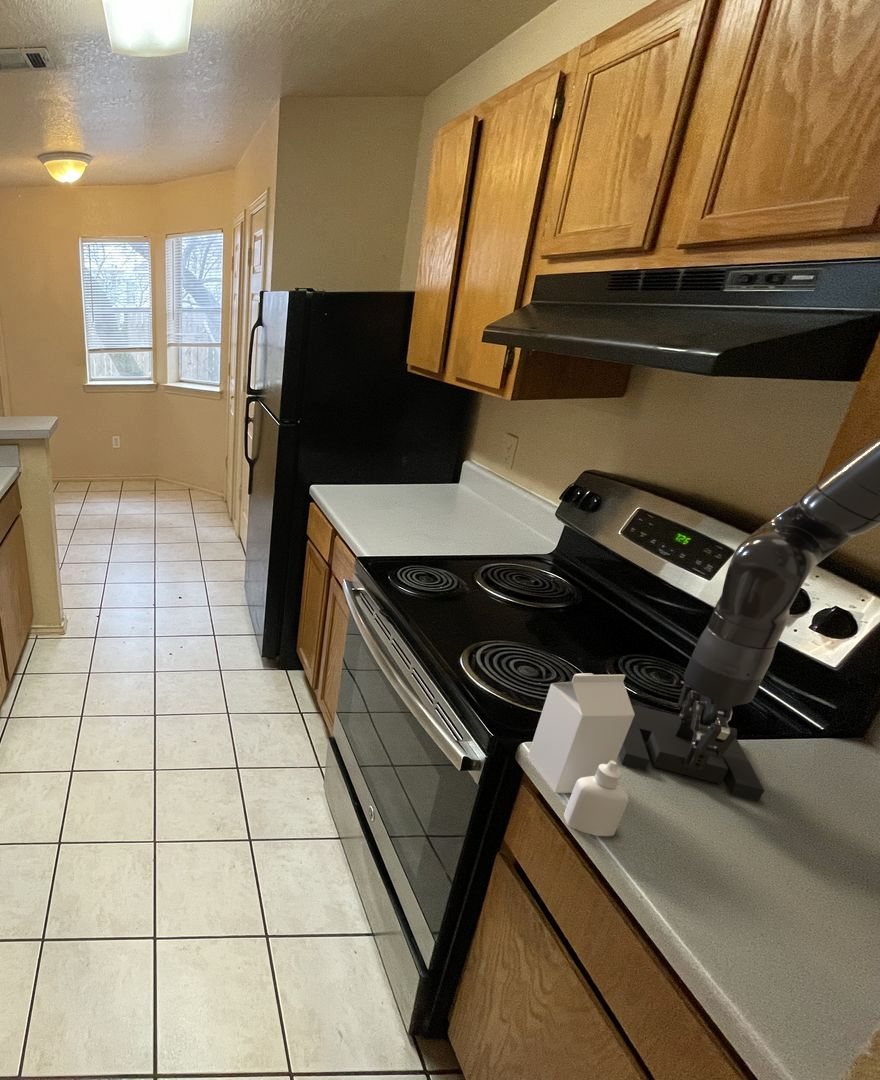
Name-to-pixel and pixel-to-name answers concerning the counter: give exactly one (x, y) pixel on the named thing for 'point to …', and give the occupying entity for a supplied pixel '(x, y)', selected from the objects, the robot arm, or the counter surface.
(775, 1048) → the counter surface
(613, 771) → the eye dropper bottle
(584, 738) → the milk carton
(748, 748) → the counter surface
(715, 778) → the small pad
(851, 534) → the robot arm
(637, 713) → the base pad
